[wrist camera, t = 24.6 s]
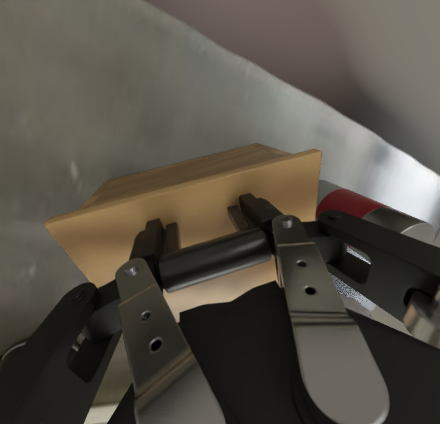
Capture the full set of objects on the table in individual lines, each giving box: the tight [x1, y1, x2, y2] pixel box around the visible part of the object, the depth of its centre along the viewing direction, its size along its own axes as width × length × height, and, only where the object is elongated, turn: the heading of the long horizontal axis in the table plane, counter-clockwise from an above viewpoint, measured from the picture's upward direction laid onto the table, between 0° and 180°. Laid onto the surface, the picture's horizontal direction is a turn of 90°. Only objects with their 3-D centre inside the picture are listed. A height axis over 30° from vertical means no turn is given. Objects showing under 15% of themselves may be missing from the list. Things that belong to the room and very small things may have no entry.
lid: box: [44, 149, 322, 323], centre depth 14 cm, size 15×17×5 cm
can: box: [315, 180, 435, 263], centre depth 22 cm, size 5×5×12 cm
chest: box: [77, 143, 292, 211], centre depth 20 cm, size 15×17×9 cm
